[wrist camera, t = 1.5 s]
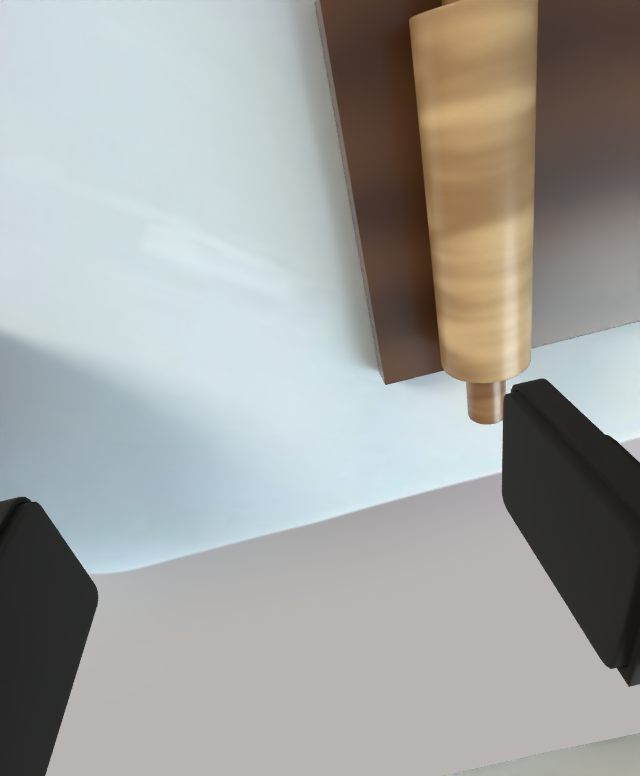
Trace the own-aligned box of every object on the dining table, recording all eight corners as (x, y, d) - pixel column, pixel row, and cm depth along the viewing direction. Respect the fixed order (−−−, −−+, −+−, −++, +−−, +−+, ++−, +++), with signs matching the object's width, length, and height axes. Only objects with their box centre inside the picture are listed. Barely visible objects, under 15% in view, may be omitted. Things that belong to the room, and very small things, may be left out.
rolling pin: (382, -95, 17) (418, -147, 14) (502, -126, 17) (571, -187, 14) (435, 402, 29) (463, 447, 25) (507, 384, 29) (545, 427, 25)
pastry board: (314, 1, 20) (318, -5, 18) (891, -148, 20) (936, -165, 18) (379, 372, 29) (385, 385, 28) (768, 274, 29) (792, 283, 28)
